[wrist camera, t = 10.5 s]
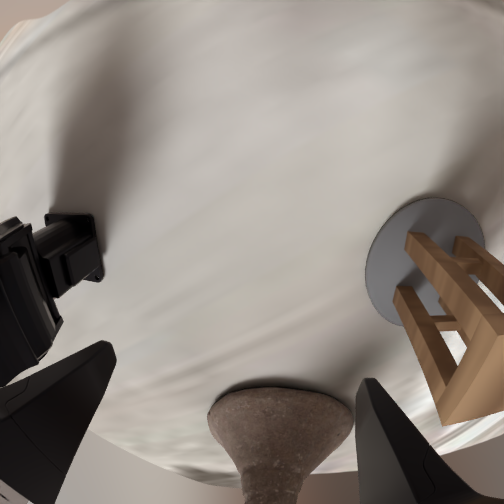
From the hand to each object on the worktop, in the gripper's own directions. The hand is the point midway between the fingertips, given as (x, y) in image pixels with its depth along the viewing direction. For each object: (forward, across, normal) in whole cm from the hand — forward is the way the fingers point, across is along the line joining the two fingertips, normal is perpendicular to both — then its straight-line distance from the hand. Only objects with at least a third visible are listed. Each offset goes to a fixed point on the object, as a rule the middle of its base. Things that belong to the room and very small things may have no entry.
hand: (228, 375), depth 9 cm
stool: (+12, -13, +1) cm, 18 cm away
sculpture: (+13, -3, +23) cm, 27 cm away
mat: (+13, -13, +1) cm, 18 cm away
